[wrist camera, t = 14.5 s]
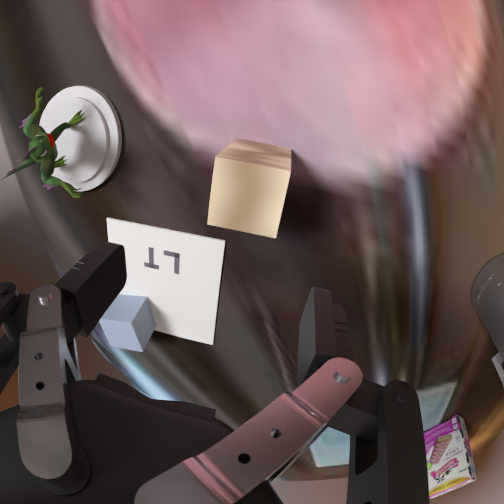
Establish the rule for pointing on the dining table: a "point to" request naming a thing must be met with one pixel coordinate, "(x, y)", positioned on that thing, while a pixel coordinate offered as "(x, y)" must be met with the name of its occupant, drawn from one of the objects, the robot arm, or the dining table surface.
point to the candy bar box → (448, 456)
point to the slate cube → (128, 322)
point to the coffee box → (499, 366)
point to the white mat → (172, 276)
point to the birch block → (249, 187)
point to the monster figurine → (74, 139)
